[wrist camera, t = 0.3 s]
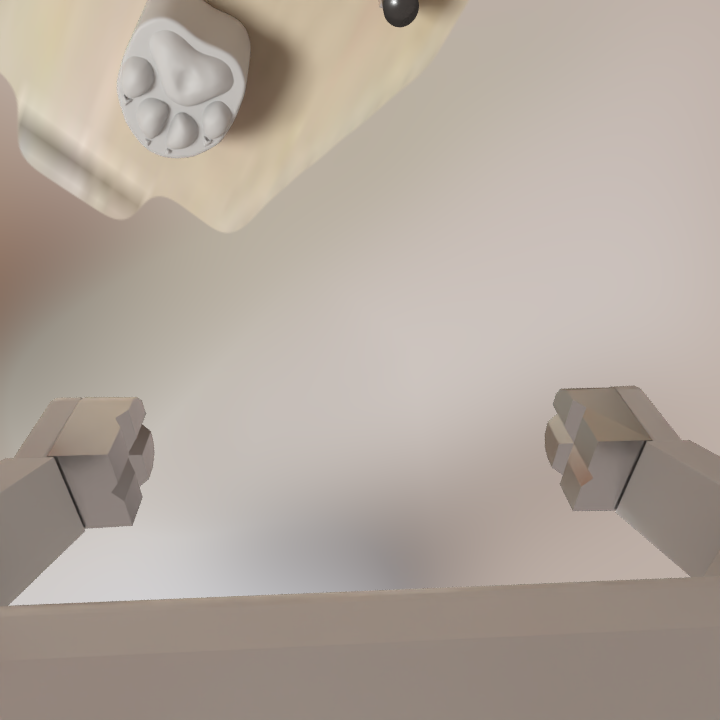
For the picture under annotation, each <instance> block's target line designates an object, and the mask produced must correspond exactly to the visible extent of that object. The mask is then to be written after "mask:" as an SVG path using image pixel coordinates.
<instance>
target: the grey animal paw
mask: <svg viewBox="0 0 720 720" xmlns="http://www.w3.org/2000/svg"><path fill="white" fill-rule="evenodd" d="M250 54H251V44H250V39H249V36H248V33H247V31H246V29H245V27H244V26H243V25H242V23H241V22H239V21H238V20H237V19H236V18H234V17H232V16H230V15H228V14H226V13H224V12H222V11H219V10H217V9H215V8H214V7H212V6H210V5H209V4H208V3H206V2H205V1H204V0H148V1H147V3H146V5H145V7H144V9H143V11H142V14H141V16H140V18H139V20H138V23H137V25H136V28H135V30H134V32H133V35H132V37H131V39H130V41H129V44H128V46H127V48H126V51H125V53H124V56H123V59H122V63H121V66H120V70H119V74H118V79H117V93H118V98H119V102H120V106H121V109H122V112H123V115H124V118H125V120H126V123H127V124H128V126H129V128H130V130H131V131H132V133H133V134H134V135H135V137H136V138H137V139H138V140H139V142H140V143H141V144H142V145H143V146H144V147H145V148H147V149H148V150H149V151H151V152H153V153H155V154H157V155H160V156H163V157H168V158H185V157H192V156H195V155H198V154H200V153H203V152H205V151H207V150H208V149H210V148H212V147H214V146H215V145H217V144H218V143H219V142H220V141H221V140H222V139H223V138H224V136H225V135H226V133H227V132H228V130H229V129H230V127H231V126H232V124H233V122H234V120H235V118H236V116H237V113H238V111H239V108H240V105H241V103H242V100H243V98H244V94H245V90H246V83H247V76H248V69H249V61H250Z"/></svg>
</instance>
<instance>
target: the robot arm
mask: <svg viewBox="0 0 720 720" xmlns="http://www.w3.org/2000/svg"><path fill="white" fill-rule="evenodd" d="M553 406H554V408H555V410H556V412H557V414H556V415H555V416H554V417H553V418H552V419H550V420H549V421H548V423H547V428H546V431H545V449H546V453H547V457H548V460H549V462H550V464H551V466H552V468H554V469H555V470H556V471H558V472H559V473H561V474H562V475H563V476H562V480H561V483H560V486H561V487H562V490H563V492H564V494H565V496H566V498H567V500H568V502H569V504H570V506H571V508H572V510H573V511H608V510H609V511H611V510H616V513H617V514H618V515H619V516H620V517H621V518H623V519H624V520H625V521H626V522H627V523H628V524H630V525H631V526H632V527H633V528H634V529H635V530H637V531H638V532H639V533H640V534H641V535H642V536H644V537H645V538H646V539H647V540H648V541H649V542H651V543H652V544H653V545H654V546H655V547H657V548H658V549H659V550H660V551H661V552H662V553H664V554H665V555H666V556H667V557H668V558H669V559H671V560H672V561H673V562H674V563H675V564H676V565H678V566H679V567H680V568H681V569H682V570H684V571H685V572H686V573H687V574H688V575H689V576H690V577H688V578H664V579H640V580H617V581H616V580H615V581H591V582H567V583H543V584H520V585H495V586H471V587H447V588H425V589H424V588H423V589H401V590H400V589H399V590H375V591H351V592H329V593H328V592H327V593H303V594H280V595H256V596H231V597H207V598H183V599H161V600H135V601H112V602H88V603H64V604H40V605H15V606H8V605H9V604H10V603H11V602H12V601H13V600H14V599H15V598H16V597H17V596H19V595H20V594H21V592H23V591H24V590H25V589H26V588H27V587H28V586H29V585H30V584H31V583H32V582H33V581H34V580H35V579H36V578H37V577H38V576H39V575H40V574H41V573H42V572H43V571H44V570H45V569H46V568H47V567H48V566H49V565H50V564H52V563H53V562H54V561H55V560H56V559H57V558H58V557H59V556H60V555H61V554H62V553H63V552H64V551H65V550H66V549H67V548H68V547H69V546H70V545H71V544H72V543H73V542H74V541H75V540H76V539H77V538H78V537H79V536H80V535H81V534H83V533H84V531H85V528H103V527H119V526H132V525H133V522H134V519H135V517H136V514H137V511H138V509H139V506H140V503H141V500H142V494H141V491H140V486H141V485H142V484H143V483H145V482H146V481H147V480H148V479H149V477H150V474H151V471H152V468H153V460H154V443H153V438H152V434H151V431H150V430H149V429H147V428H146V427H145V426H144V425H142V423H143V420H144V418H145V415H146V412H145V409H144V406H143V403H142V400H140V399H139V398H137V397H85V398H56V399H54V400H52V401H51V402H50V403H49V405H48V406H47V408H46V409H45V411H44V412H43V414H42V415H41V417H40V419H39V420H38V421H37V423H36V425H35V426H34V427H33V429H32V431H31V432H30V434H29V435H28V437H27V438H26V440H25V441H24V443H23V444H22V446H21V447H20V449H19V450H18V452H17V453H16V455H15V457H14V458H5V459H3V460H1V461H0V720H720V456H718V455H716V454H714V453H712V452H711V451H709V450H707V449H705V448H703V447H701V446H699V445H697V444H696V443H694V442H692V441H690V440H681V439H680V437H679V436H678V435H677V434H676V432H675V431H674V430H673V429H672V427H671V426H670V425H669V424H668V422H667V421H666V420H665V419H664V417H663V416H662V415H661V413H660V412H659V411H658V410H657V408H656V407H655V406H654V405H653V403H651V401H650V400H649V398H648V397H647V396H646V395H645V393H644V392H643V391H642V390H641V389H640V388H638V387H636V386H619V387H618V386H616V387H609V388H576V389H575V388H573V389H572V388H571V389H560V390H559V391H558V392H557V394H556V396H555V399H554V402H553Z"/></svg>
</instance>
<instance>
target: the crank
mask: <svg viewBox="0 0 720 720" xmlns="http://www.w3.org/2000/svg"><path fill="white" fill-rule="evenodd" d="M378 1H379V7H381V8H383V11H384V16H385V18H386V20H387V21H388V22H389V23H390V24H391V25H393V26H395V27H404V26H407V25H409V24H410V23H411V22H412V21H413V20H414V19H415V17H416V16H417V13H418V9H419V2H418V0H378Z"/></svg>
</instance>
